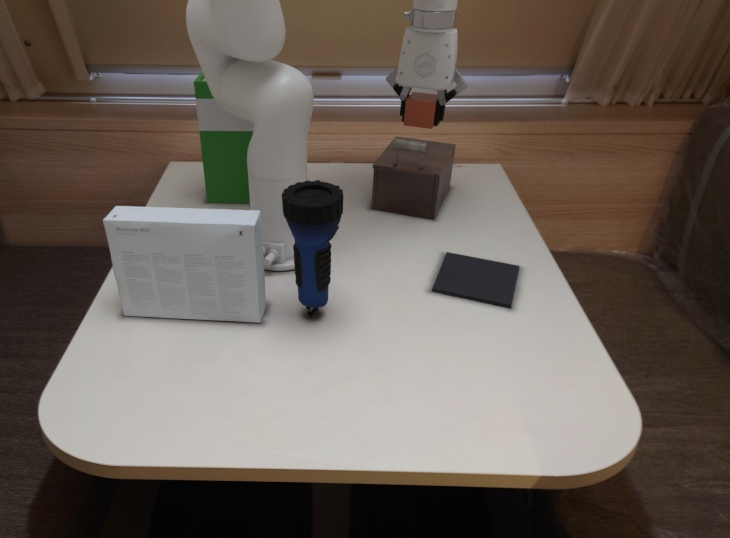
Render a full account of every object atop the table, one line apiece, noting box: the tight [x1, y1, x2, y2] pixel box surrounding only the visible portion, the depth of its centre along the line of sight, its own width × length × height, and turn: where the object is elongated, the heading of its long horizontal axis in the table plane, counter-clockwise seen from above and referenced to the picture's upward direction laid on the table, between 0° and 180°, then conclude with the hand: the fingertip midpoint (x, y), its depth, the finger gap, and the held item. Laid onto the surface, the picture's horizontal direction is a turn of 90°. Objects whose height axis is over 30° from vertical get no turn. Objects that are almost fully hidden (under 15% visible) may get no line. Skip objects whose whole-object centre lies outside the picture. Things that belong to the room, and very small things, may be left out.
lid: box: [372, 136, 457, 178], centre depth 112 cm, size 16×13×6 cm
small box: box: [403, 91, 439, 130], centre depth 110 cm, size 6×6×5 cm
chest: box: [370, 148, 456, 220], centre depth 116 cm, size 16×13×9 cm
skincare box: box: [102, 205, 267, 324], centre depth 83 cm, size 21×5×16 cm, turn 84°
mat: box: [431, 251, 520, 309], centre depth 93 cm, size 12×12×1 cm
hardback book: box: [193, 71, 254, 204], centre depth 113 cm, size 18×7×24 cm, turn 87°
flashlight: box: [282, 179, 344, 318], centre depth 80 cm, size 8×8×20 cm
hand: (421, 121), depth 111 cm, fingers closed on small box, 5 cm apart
